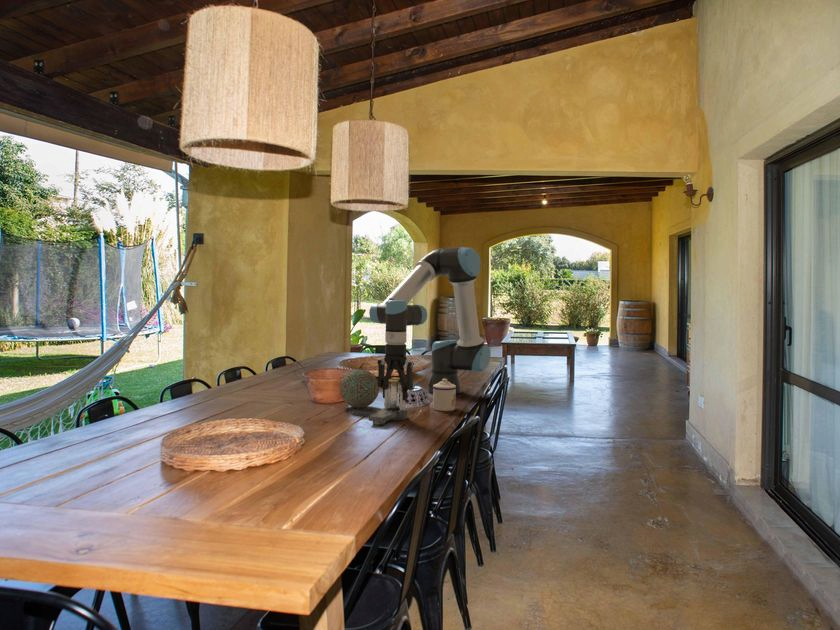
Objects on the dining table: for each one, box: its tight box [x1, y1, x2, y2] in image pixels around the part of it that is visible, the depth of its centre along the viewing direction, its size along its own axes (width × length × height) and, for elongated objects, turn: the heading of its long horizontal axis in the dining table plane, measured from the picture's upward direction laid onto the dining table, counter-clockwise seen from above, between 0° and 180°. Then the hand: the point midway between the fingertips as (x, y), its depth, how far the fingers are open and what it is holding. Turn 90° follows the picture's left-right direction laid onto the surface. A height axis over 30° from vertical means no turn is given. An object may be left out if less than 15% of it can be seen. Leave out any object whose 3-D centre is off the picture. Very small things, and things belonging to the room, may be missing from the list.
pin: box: [388, 376, 401, 410], centre depth 212 cm, size 5×5×14 cm
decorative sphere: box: [339, 368, 380, 409], centre depth 229 cm, size 15×15×15 cm
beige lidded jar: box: [432, 379, 457, 412], centre depth 230 cm, size 12×9×12 cm
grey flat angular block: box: [351, 406, 408, 427], centre depth 211 cm, size 18×20×3 cm
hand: (394, 407), depth 213 cm, fingers open, 5 cm apart
